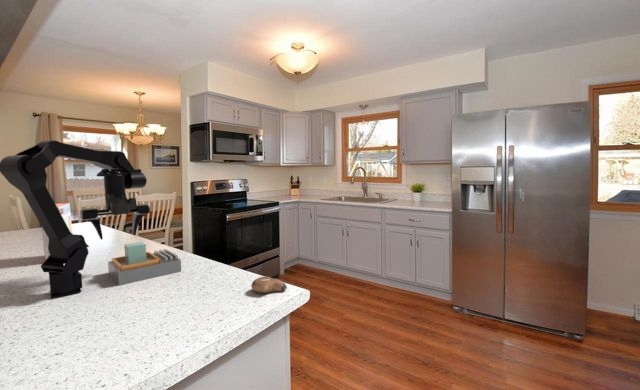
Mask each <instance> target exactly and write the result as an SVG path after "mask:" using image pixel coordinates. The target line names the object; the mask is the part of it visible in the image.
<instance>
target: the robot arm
mask: <svg viewBox="0 0 640 390" xmlns="http://www.w3.org/2000/svg"><path fill="white" fill-rule="evenodd" d="M57 158H61V159H67V160H73V161H74V160H75V161H79V162H83V163H84V162H86V163H89V164H92V165H94V166H96V167H99V168H101V170H100V171H99V172H98V173H97V174H96V177H103V186H104V202H105V209H98V208H96V207H90V208H81V209H80V210H79V218H80V219H82V220H85V221H86V222H88V223H89V222H90V223H91V224H92V225H93V227H94V229H95V231H96V233H97V235H98V237H99V238H100V240H103V232H102V226H101V221H100V218H99V216H109V215H113V216H119V215H129V214H131V213H132V214H131V218H132V221H131V224H132V225H131V226H132V228H131V230H132V231H131V232H132V235H133V236H135V235H136V232H137V230H138V226H139V224H140V221H141V219H142V218H143V217H146V215H147V214H150V213H151V207H150V205H148V204H144V203H140V204H137V199H136V197H129V198H128V197H127V193H126V190H130V189H133V190H134V189H143V188H144V187H146V185H147V178H146V175H145V174H144V173H143V172H142V169H141V168H134V167H133V165H132V164H131V162H130V160H129V159H128V158H127V156H126V154H125V152H124V151H117V150H116V151H115V150H96V149H92V148H87V147H82V146H79V145H74V144H70V143H64V142H60V141H58V140H55V139H53V140H42V141H40V142H38V143H37V144H35V145H33V146H32V147H29V148H27V149H24V150H22V151H19V152H17V153H16V154H14V155H7V156H5V157H3V158H2V159H1V160H0V173H1V175H2V176H3V177H4V178H5V180H7V182H8V183H10V184H11V186H13V187H15V189H17V190H19V191H20V192H21V193H22V194H23V196H24V198H25V199H26V201H27V203H28V205H29V207H30V209H31V211H33V214H34V215H35V217H36V219H37V221H38V223H39V225H40V226H41V229H42V228H43V229H44V231H45V233H46V235H47V236H48V238H49V244H48V250H49V253H50V255H49V257H48V258H47V259H46V260H45V259H44V261H43V263H42V264H41V265H40V268H41V270H42V271H43V273H48V281H49V296H50V299H56V298H60V297H65V296H68V295H74V294H79V293H82V288H83V278H82V277H83V276H82V275H83V274H82V273H81V272H80V271H82V270H84V268H85V264H86V259H87V257H88V255H89V249H88V248H89V247H90V245H88V244H87V243H86V240H85V237H84V236H83V234H73V232H72V233H71V232H70V230H69V229H68V227H67V225H66V223H65V221H64V219H63V217H62V215H61V214H60V212H59V210H58V208H57V206H56V204H57V203H55V201H54V198H53V196H52V195H51V193H50V192H49V191H50V190H49V189H48V187H47V181H48V180H47V179H48V173H47V170H46V168H48V167H49V166H50V165H52V164H53V163H54V161H55V160H56V159H57Z"/></svg>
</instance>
